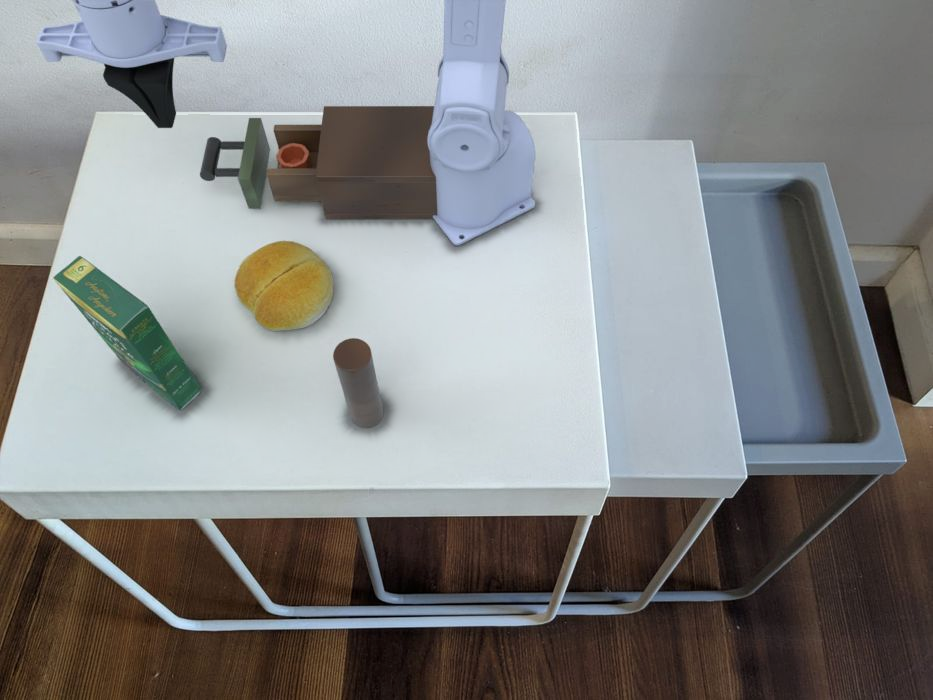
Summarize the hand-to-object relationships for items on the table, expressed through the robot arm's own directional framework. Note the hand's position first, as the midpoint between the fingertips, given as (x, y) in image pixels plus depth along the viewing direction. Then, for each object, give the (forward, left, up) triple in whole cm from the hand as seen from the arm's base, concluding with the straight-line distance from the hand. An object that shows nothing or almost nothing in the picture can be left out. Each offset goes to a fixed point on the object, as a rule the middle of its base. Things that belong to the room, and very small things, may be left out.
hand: (166, 120), depth 70 cm
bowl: (-9, +6, -7) cm, 12 cm away
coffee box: (+11, +19, -9) cm, 24 cm away
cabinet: (-16, +10, -9) cm, 21 cm away
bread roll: (-2, +17, -9) cm, 19 cm away
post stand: (-2, +32, -9) cm, 33 cm away
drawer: (-8, +5, -8) cm, 12 cm away
